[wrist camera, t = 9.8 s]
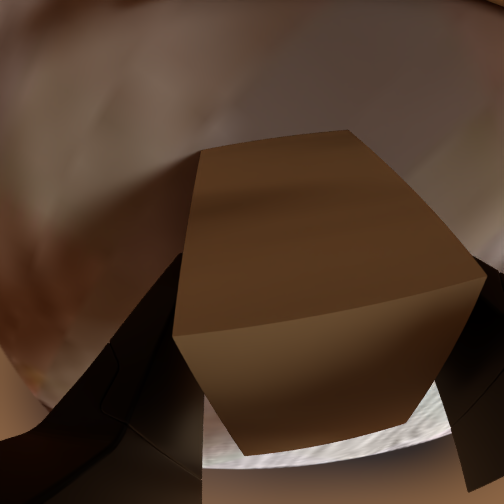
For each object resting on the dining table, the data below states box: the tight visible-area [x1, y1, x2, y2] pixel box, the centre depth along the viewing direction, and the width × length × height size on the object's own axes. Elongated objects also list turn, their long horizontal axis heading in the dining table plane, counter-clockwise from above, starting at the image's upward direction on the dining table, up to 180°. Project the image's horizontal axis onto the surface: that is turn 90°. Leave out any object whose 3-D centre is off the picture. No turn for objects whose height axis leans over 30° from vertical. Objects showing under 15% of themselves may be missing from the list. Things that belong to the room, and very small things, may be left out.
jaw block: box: [172, 130, 487, 456], centre depth 7 cm, size 5×4×6 cm
